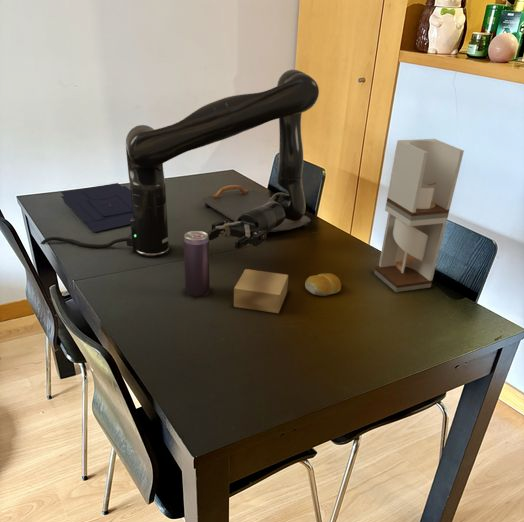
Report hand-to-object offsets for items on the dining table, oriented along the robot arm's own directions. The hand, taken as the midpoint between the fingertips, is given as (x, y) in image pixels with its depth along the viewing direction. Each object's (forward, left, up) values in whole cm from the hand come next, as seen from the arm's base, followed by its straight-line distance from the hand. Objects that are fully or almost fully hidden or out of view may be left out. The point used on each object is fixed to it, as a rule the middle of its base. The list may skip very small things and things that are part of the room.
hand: (222, 240), depth 138 cm
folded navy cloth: (-49, +35, -10) cm, 61 cm away
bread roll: (+26, +1, -10) cm, 28 cm away
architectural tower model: (+46, +13, -10) cm, 49 cm away
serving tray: (-2, +46, -10) cm, 48 cm away
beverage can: (-4, -10, -10) cm, 15 cm away
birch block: (+12, -9, -10) cm, 18 cm away
